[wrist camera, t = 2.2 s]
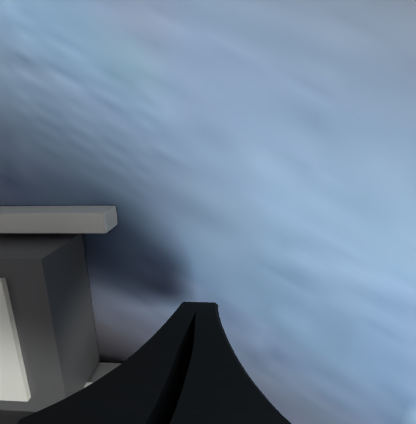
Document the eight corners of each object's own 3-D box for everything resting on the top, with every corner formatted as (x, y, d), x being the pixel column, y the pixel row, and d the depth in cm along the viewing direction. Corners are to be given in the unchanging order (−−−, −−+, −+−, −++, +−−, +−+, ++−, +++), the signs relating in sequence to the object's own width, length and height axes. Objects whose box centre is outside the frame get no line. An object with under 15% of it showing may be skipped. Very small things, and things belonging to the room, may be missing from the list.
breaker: (99, 360, 14) (65, 418, 11) (19, 357, 15) (-33, 412, 12) (82, 232, 13) (37, 261, 10) (-8, 232, 13) (-76, 260, 10)
